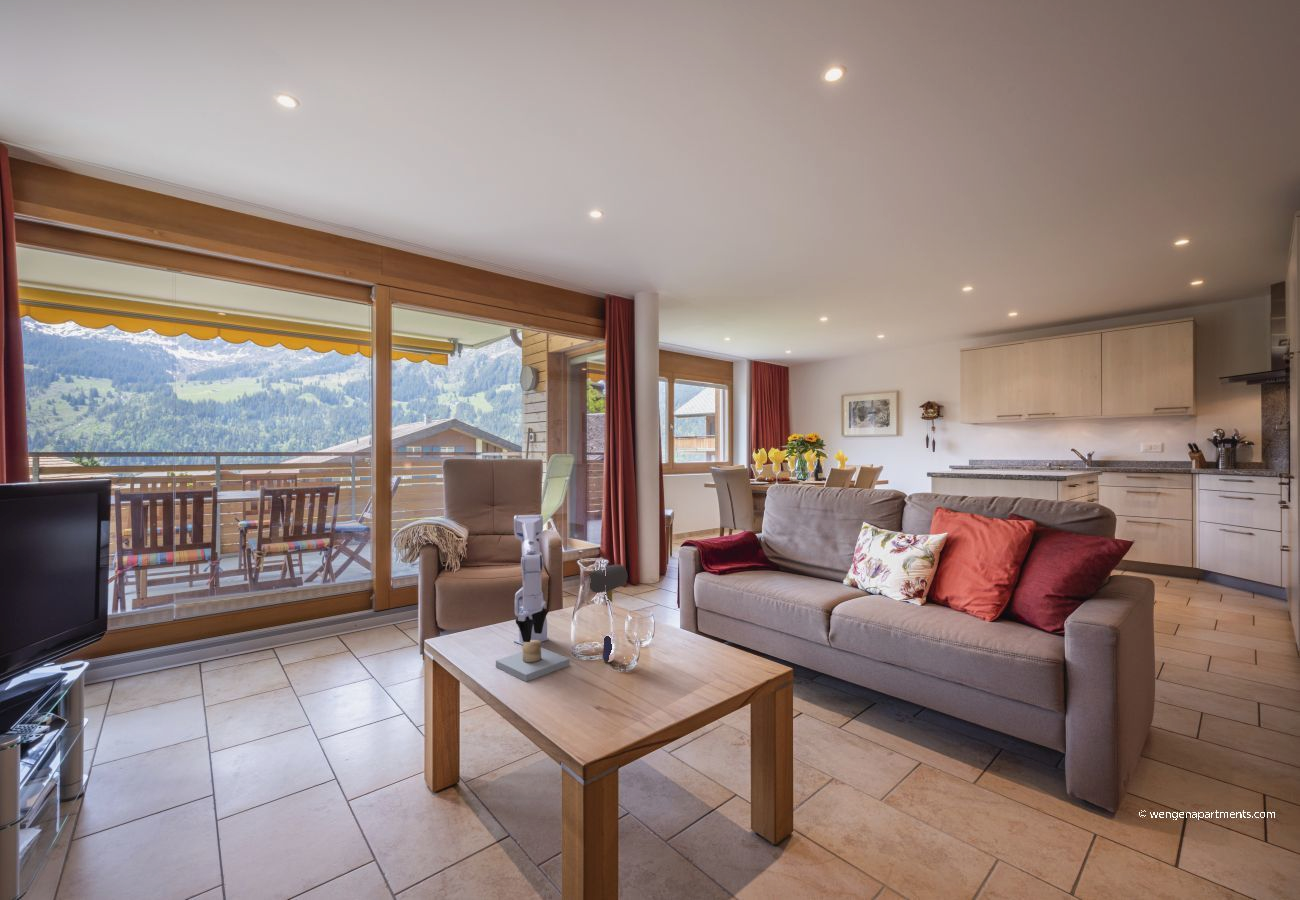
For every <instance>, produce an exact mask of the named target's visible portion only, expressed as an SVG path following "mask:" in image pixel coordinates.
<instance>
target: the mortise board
mask: <svg viewBox="0 0 1300 900" xmlns="http://www.w3.org/2000/svg"><path fill="white" fill-rule="evenodd" d="M569 666H570V658H569V657H567V656H564V655H561V654H559V653H556V652H554V651H551V650H550V649H549V650H548V649H546V648H544V647H542V646H541V660H540V661H539V662H536V663H525V662H523V651H521V652H520V651H519V652H517V653H514V654H511V655H507V656H506V657H505V656H504V657H502V658H499V659H497V660H495V668H496V669H499V670H501V671H503V672H505V673H507V674H510V675H511V676H513V677H516V678H518V679H520V680H522V681H524V682H529V681H531V680H534V679H538V678H540V677H542V676H544V675H548V674H550V673H553V672H556V671H558V670H560V669H563V668H566V667H569Z"/></svg>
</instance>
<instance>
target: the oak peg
mask: <svg viewBox="0 0 1300 900" xmlns="http://www.w3.org/2000/svg"><path fill="white" fill-rule="evenodd" d="M541 647H542V642H541V641H539V640H530V642H524V643H523V645H522V652H523V662H525V663H536V662H539V661H540V660H541Z"/></svg>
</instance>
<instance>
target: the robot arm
mask: <svg viewBox="0 0 1300 900" xmlns="http://www.w3.org/2000/svg"><path fill="white" fill-rule="evenodd" d="M543 529H544V518H543V515H542V514H540V513H539V514H521V515H519V514H518V515H517V514H515V515H514V516H513V532H514V533H513V534H514V538H515V539H516V540H519V541H520V544H521V558H520V570H521V572H520V573H521V576H522V577H521V579H522V587H520V588H519V590H517V591H516V592H515V594H514V615H515V617H517V618H515V624H516V626H517V627H518V638H515V639H513V642H514V643H517V644H519V645H522V646H523V643H524V642H530V640H539V641H541V643H542V642H546V641H548V640H549V637H548V619H547V615H548V613H549V609H547V608H546V604H547V603H546V600H544V593H543V591H542V572H543V571H544V558H543V554H542V552H541V547H540V546H541V545H540V541H538V539H540V538H541V537H542V535H543Z"/></svg>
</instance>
